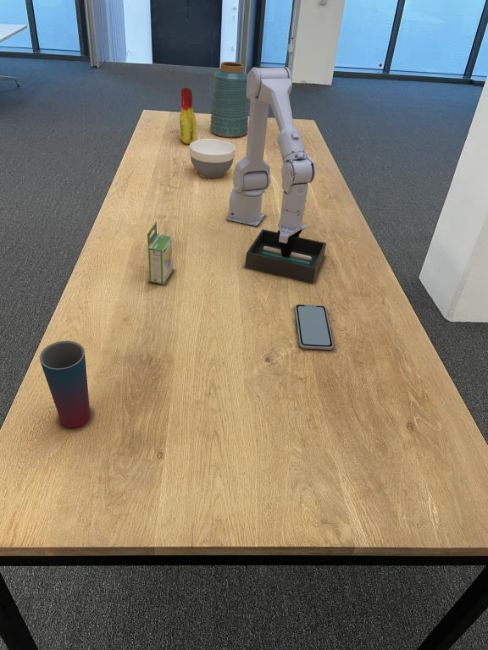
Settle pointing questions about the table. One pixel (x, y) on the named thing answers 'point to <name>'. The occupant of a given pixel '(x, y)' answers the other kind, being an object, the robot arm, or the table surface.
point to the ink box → (159, 256)
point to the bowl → (212, 157)
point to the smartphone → (313, 327)
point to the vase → (229, 101)
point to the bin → (282, 266)
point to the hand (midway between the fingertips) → (286, 254)
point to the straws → (293, 257)
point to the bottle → (187, 117)
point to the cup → (67, 381)
